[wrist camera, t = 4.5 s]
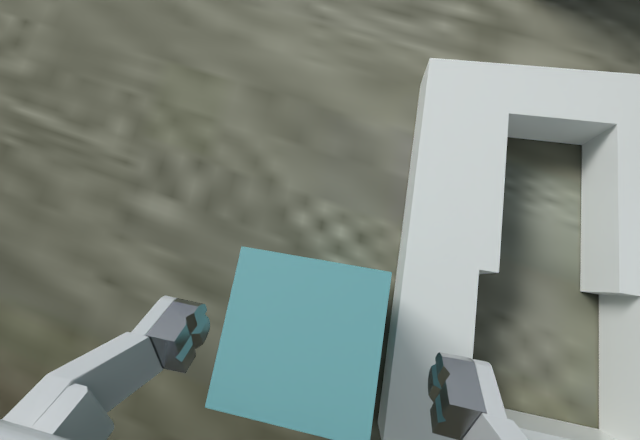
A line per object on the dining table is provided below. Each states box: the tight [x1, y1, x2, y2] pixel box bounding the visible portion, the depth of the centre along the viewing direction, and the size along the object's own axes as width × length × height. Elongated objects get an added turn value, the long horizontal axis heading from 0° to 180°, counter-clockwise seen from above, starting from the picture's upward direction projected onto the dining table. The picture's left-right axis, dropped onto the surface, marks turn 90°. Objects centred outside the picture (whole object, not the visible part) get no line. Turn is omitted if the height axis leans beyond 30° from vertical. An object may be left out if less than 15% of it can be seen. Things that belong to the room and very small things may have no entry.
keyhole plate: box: [378, 58, 640, 440], centre depth 16 cm, size 20×14×2 cm
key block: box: [205, 247, 392, 440], centre depth 12 cm, size 4×4×10 cm
